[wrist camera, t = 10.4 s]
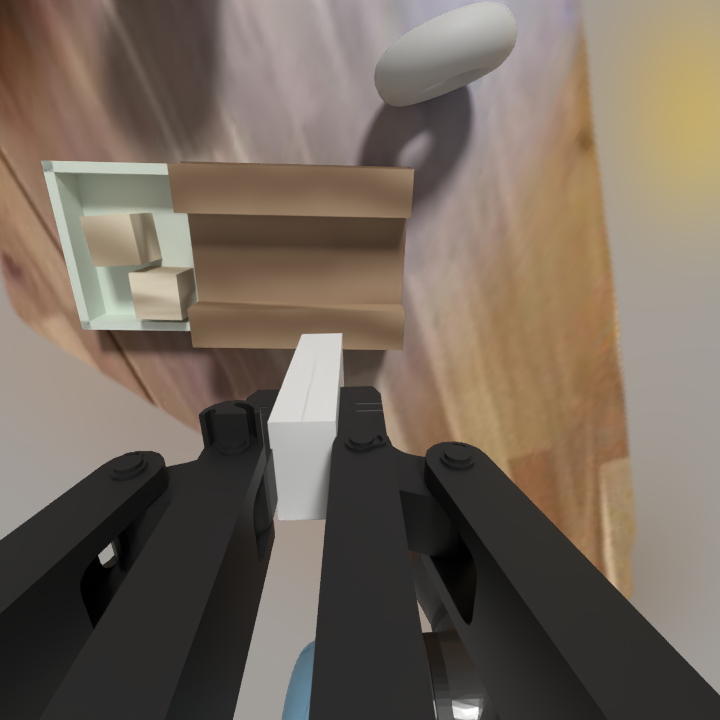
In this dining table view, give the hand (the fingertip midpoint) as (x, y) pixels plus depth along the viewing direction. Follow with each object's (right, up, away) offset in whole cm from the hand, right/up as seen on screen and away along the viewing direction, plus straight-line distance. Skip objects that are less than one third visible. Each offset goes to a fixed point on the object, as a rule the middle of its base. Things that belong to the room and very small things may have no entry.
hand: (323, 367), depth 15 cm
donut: (+7, +24, +18) cm, 30 cm away
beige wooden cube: (-16, +8, +21) cm, 28 cm away
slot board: (-4, +11, +23) cm, 25 cm away
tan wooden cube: (-19, +10, +18) cm, 28 cm away
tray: (-18, +11, +22) cm, 31 cm away
